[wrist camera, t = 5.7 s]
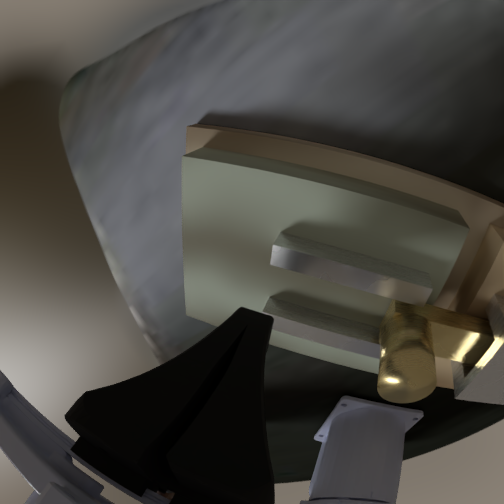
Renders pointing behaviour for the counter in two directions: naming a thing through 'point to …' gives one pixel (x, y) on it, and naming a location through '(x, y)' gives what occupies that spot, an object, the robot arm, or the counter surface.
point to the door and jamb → (327, 232)
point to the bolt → (425, 347)
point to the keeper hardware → (384, 284)
